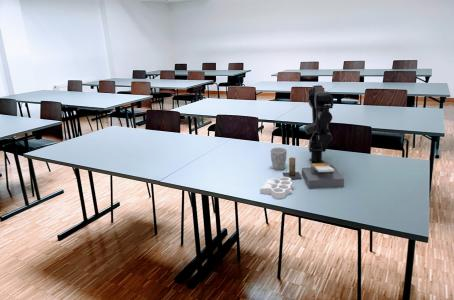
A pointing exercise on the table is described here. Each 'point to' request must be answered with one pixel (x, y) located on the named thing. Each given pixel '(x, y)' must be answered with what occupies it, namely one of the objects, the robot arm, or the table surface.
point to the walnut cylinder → (291, 166)
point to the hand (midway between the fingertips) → (321, 148)
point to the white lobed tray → (277, 187)
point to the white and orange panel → (322, 167)
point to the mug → (278, 158)
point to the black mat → (297, 176)
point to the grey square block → (322, 178)
